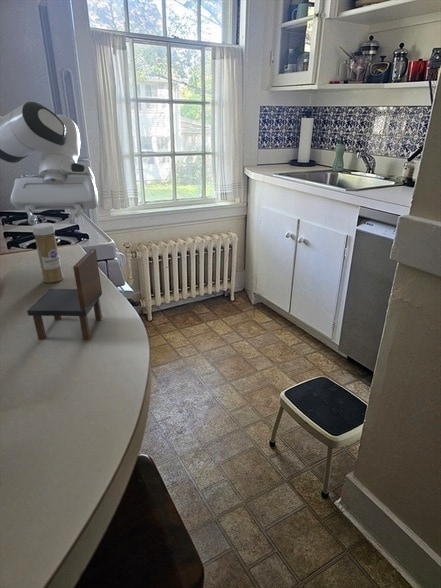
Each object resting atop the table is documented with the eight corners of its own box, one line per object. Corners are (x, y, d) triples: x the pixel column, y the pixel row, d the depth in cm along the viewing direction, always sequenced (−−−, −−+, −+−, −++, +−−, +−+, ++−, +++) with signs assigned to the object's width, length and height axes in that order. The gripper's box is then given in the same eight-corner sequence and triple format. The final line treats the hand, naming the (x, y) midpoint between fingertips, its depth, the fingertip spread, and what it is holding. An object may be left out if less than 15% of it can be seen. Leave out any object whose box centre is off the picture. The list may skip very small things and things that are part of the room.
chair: (34, 340, 69) (16, 266, 63) (55, 316, 77) (41, 248, 71) (90, 341, 68) (77, 266, 62) (105, 317, 77) (95, 248, 71)
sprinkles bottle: (54, 284, 91) (43, 228, 85) (39, 281, 93) (26, 226, 87) (67, 277, 95) (57, 223, 89) (52, 275, 96) (42, 221, 91)
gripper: (10, 167, 95) (1, 216, 90) (95, 166, 96) (91, 215, 91) (21, 183, 101) (14, 230, 96) (101, 182, 102) (98, 228, 97)
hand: (52, 223), depth 94 cm, fingers open, 8 cm apart
